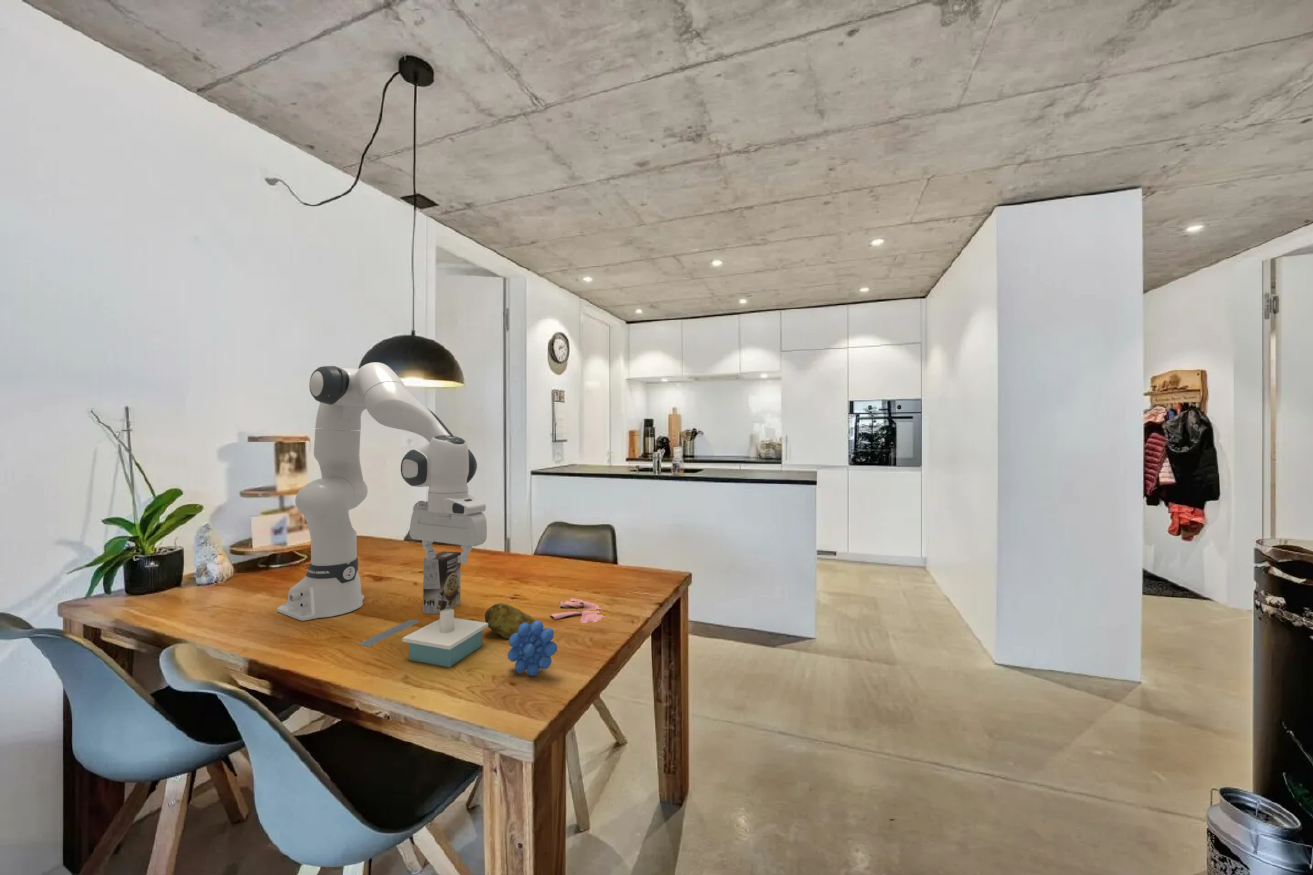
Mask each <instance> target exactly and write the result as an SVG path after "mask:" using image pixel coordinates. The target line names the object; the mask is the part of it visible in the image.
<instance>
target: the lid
mask: <svg viewBox="0 0 1313 875" xmlns="http://www.w3.org/2000/svg"><path fill="white" fill-rule="evenodd" d="M487 628H489V627H488V623H486V622H485V621H484V622H482V621H477V620H471V619H464V618H457V617H455V609H454V608H452V609H444V610H442V611H440V613H439V619H437V620H435V621H433V622H431V623H429V624H427V625H425V626H423V627H421V628H419V629H417V630H415V631H413V632H411V633H409V634H407V635H406V636H403V637H402V638H401V639H402V640H401V642H404V643H414V644H420V645H425V646H431V647H437V648H442V649H448V650H450V649H452V648H453V647H455V646H457V645H458V644H460V643H462V642H463V641H465V640H467V639H468V638H470V637H472V636H473V635H475V634H476V633H478V632H480V631H481V630H482V631H483V630H485V629H487Z"/></svg>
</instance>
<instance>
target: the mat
mask: <svg viewBox="0 0 1313 875" xmlns="http://www.w3.org/2000/svg"><path fill="white" fill-rule="evenodd" d="M420 622H421V620H415V619H409V620H406V621H403V622H401V623H400V624H398V625H395V626H392V627H390V628H388V629H387V630H385V631H384V630H383V631H382V632H381V633H378V634H376V635H374V636H371V637H370V638H368V639H365V640H363V641H362V642H359V643H357V644H356V645H358V646H364V647H368V648H369V647H371V646H373V645H375V644H377V643H379V642H382V641H384V640H385V639H387V638H390V637H392V636H393V635H395V634H397V633H399V632H402V631H403V630H406V629H407V628H410V627H412V626H414V625H416V624H417V623H420Z"/></svg>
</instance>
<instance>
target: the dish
mask: <svg viewBox="0 0 1313 875" xmlns="http://www.w3.org/2000/svg"><path fill="white" fill-rule="evenodd" d="M408 645H409V648H408V649H409V650H408V651H409V654H408V655H409V658H408V660H409V661H414V662H420V663H424V664H429V665H435V666H440V667H444V668H451V667H452V666H454V665H455V664H457V663H458V662H460V661H461V660H463V659H464V658H465V657H467V656H469V655H470V654H472V653H473V652H475V651H476V650H478V649H479V648H481V647H482V646H483V630H481V631H480V632H478V633H476V634H475V635H473V636H472V637H470V638H468V639H467V640H465V641H463V642H462V643H460V644H458V645H457V646H455V647H453V648H452V649H450V650H448V649H442V648H437V647H431V646H425V645H420V644H414V643H409V644H408Z"/></svg>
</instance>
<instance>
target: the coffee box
mask: <svg viewBox="0 0 1313 875" xmlns="http://www.w3.org/2000/svg"><path fill="white" fill-rule="evenodd" d="M461 554H462V552H461V551H440V552H436V557H435V558H434V559H426V557H424V558H423V585H422V590H423V594H422V595H423V596H422V597H423V598H422V613H425V614H433V615H436V614H440V611H442V610H444V609H454V608H455V607H457V606H460V605H461V589H462V588H461V587H462V586H461V581H462V580H461V576H462V575H461V570H462V569H461V568H462V566H461V564H462V563H458V562H457V561H458V556H459V555H461Z"/></svg>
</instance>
